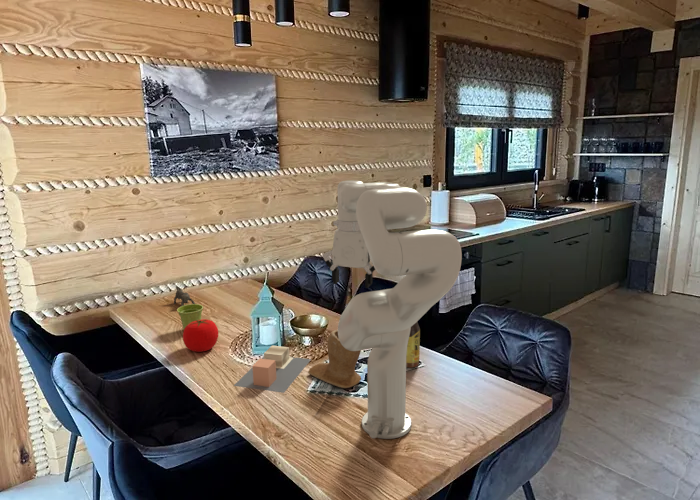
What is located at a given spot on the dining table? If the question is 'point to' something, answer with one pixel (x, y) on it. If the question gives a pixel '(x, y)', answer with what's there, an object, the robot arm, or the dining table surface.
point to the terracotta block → (264, 372)
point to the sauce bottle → (413, 347)
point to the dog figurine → (182, 297)
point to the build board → (277, 376)
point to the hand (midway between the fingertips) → (352, 284)
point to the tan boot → (338, 364)
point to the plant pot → (190, 313)
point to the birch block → (277, 355)
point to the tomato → (200, 335)
